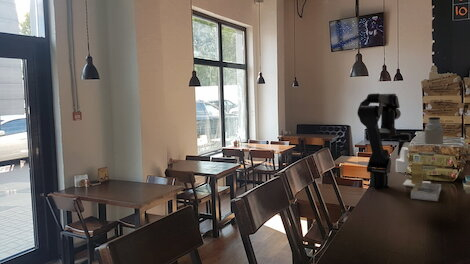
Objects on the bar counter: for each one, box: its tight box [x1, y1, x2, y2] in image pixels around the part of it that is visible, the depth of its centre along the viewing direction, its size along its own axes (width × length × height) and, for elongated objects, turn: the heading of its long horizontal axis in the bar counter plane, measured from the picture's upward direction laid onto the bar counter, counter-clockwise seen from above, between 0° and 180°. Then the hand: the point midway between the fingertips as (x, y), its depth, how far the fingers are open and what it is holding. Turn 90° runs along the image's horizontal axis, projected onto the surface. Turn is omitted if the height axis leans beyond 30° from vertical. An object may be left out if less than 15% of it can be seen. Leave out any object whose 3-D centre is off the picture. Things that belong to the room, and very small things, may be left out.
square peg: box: [410, 161, 424, 184], centre depth 162 cm, size 4×4×9 cm
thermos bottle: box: [424, 116, 444, 145], centre depth 180 cm, size 8×8×28 cm
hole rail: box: [410, 182, 442, 202], centre depth 147 cm, size 18×9×2 cm, turn 147°
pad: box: [402, 179, 432, 187], centre depth 162 cm, size 10×10×1 cm
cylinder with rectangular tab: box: [395, 146, 409, 174], centre depth 188 cm, size 9×9×12 cm
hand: (387, 154), depth 170 cm, fingers open, 9 cm apart
